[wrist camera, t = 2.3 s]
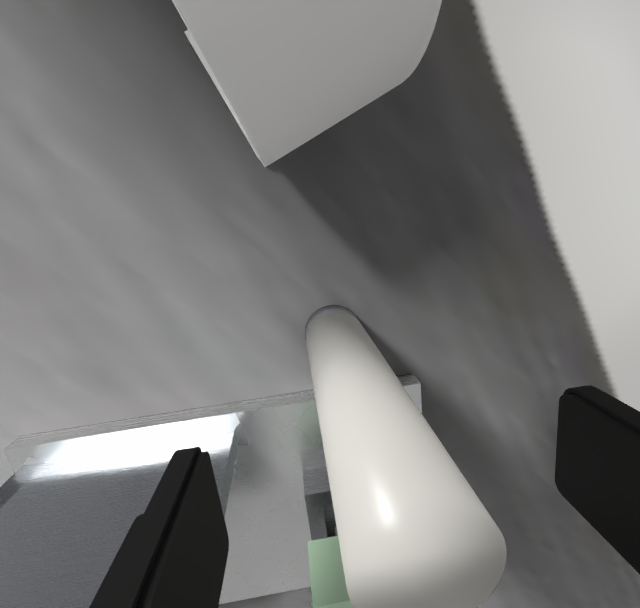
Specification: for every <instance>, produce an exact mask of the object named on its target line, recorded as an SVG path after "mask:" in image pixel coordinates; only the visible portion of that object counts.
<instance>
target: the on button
mask: <svg viewBox="0 0 640 608" xmlns="http://www.w3.org/2000/svg"><path fill="white" fill-rule="evenodd" d="M335 535H336V536H334V537H329V538H323V539H318V540H312V541H308V554H309V568H310V582H311V596H312V608H355V607H354V606H353V604H352V603H351V600H350V598H349V596H348V592H347V587H346V581H345V575H344V569H343V563H342V557H341V551H340V545H339V539H338V533H337V527H335Z"/></svg>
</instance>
